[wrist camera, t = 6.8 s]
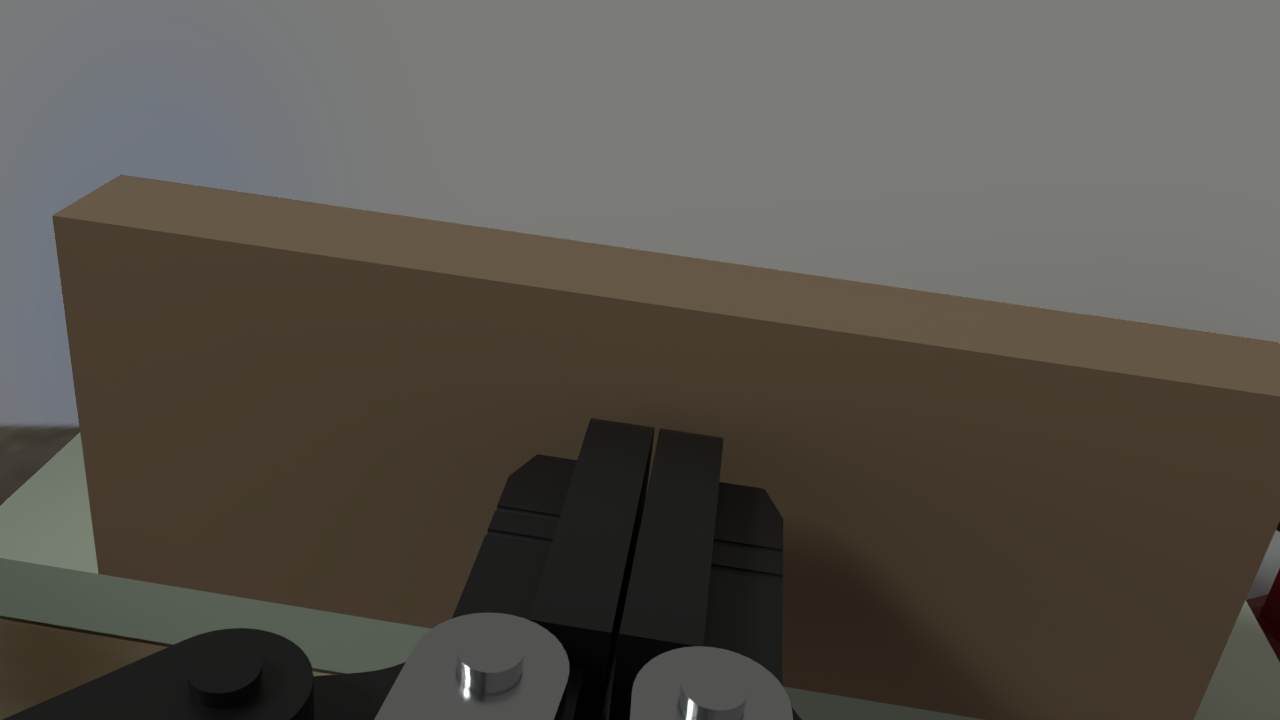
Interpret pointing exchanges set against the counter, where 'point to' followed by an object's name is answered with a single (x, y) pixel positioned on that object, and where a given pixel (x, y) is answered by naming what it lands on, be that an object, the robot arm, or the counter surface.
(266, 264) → the sliding lid
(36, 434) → the counter surface
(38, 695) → the wooden box
